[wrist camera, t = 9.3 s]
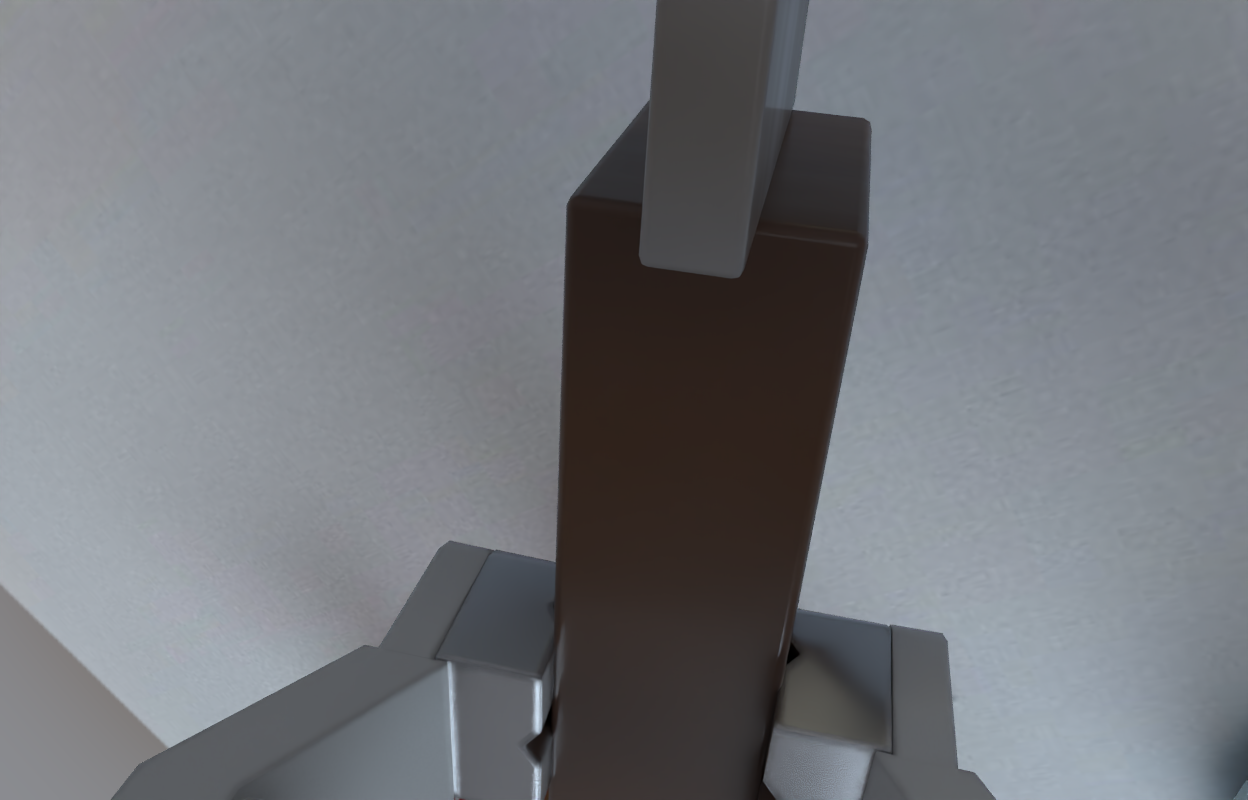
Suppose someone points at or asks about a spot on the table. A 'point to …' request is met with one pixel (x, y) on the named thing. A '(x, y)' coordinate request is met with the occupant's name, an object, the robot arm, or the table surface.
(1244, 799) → the vase
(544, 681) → the robot arm
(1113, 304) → the table surface
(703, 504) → the cake knife
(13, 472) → the table surface
